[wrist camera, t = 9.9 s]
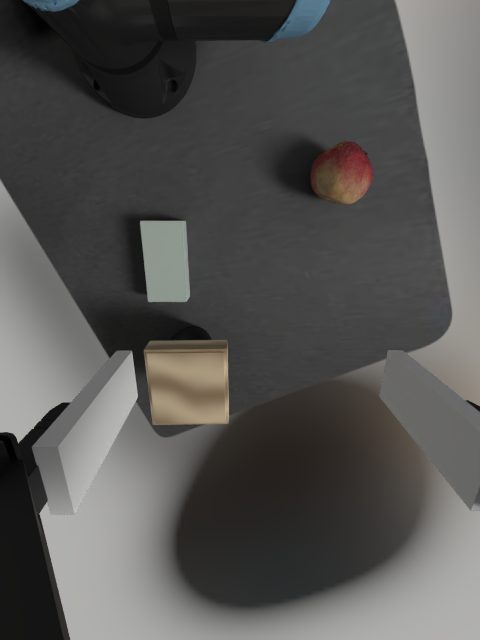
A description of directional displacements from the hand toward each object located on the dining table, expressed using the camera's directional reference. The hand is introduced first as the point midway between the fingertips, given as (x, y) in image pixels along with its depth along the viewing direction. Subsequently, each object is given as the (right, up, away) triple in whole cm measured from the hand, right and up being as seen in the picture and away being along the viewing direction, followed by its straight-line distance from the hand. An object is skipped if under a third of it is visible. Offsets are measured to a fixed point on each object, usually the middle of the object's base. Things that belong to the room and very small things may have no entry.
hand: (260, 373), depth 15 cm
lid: (-8, -6, +29) cm, 30 cm away
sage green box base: (-12, +12, +32) cm, 37 cm away
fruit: (+13, +24, +29) cm, 39 cm away
